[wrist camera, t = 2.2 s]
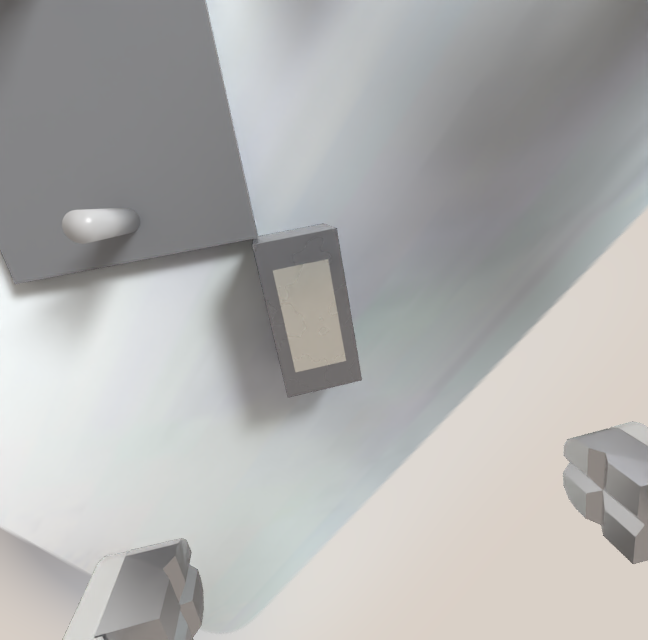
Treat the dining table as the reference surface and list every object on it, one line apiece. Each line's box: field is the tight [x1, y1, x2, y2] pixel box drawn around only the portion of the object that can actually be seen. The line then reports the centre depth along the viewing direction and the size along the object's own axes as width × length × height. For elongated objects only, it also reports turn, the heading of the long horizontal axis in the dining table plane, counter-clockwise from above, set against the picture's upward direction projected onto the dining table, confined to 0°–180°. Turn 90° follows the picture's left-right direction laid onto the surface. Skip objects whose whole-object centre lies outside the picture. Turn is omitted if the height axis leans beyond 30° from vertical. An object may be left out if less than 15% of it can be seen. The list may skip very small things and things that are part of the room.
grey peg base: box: [0, 0, 258, 284], centre depth 18 cm, size 14×17×7 cm
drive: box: [252, 224, 362, 397], centre depth 24 cm, size 4×9×5 cm, turn 11°
